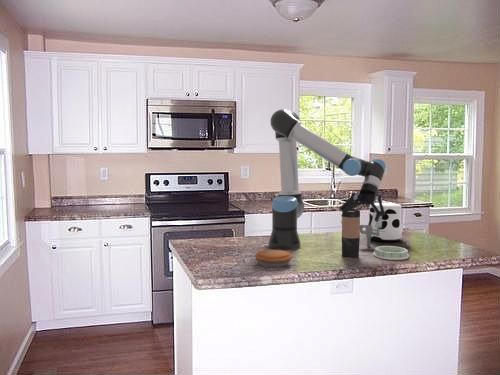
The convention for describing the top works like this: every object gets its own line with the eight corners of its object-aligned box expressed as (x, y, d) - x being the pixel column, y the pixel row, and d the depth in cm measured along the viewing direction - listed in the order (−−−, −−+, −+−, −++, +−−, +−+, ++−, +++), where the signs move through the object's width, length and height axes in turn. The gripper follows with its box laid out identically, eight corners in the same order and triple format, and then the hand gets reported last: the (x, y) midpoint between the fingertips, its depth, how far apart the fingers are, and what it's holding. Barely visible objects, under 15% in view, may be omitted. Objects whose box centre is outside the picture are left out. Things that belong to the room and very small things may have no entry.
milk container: (399, 237, 243) (400, 202, 241) (405, 244, 226) (406, 207, 224) (365, 236, 245) (366, 202, 243) (368, 243, 228) (369, 206, 226)
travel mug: (362, 257, 199) (364, 211, 197) (347, 259, 196) (348, 212, 194) (352, 253, 206) (353, 208, 204) (337, 255, 203) (338, 209, 201)
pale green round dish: (378, 260, 195) (378, 253, 195) (369, 251, 210) (369, 245, 210) (414, 259, 195) (414, 253, 195) (402, 251, 210) (402, 245, 210)
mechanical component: (380, 247, 218) (380, 226, 217) (357, 246, 220) (358, 225, 219) (379, 246, 221) (380, 225, 220) (357, 245, 223) (358, 224, 222)
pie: (257, 258, 198) (258, 246, 198) (294, 260, 195) (294, 248, 195) (251, 267, 183) (251, 255, 182) (290, 270, 180) (290, 257, 180)
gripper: (399, 194, 208) (387, 233, 197) (346, 191, 222) (333, 227, 211) (395, 183, 203) (383, 222, 192) (342, 181, 217) (328, 217, 207)
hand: (357, 225), depth 202 cm, fingers open, 13 cm apart
